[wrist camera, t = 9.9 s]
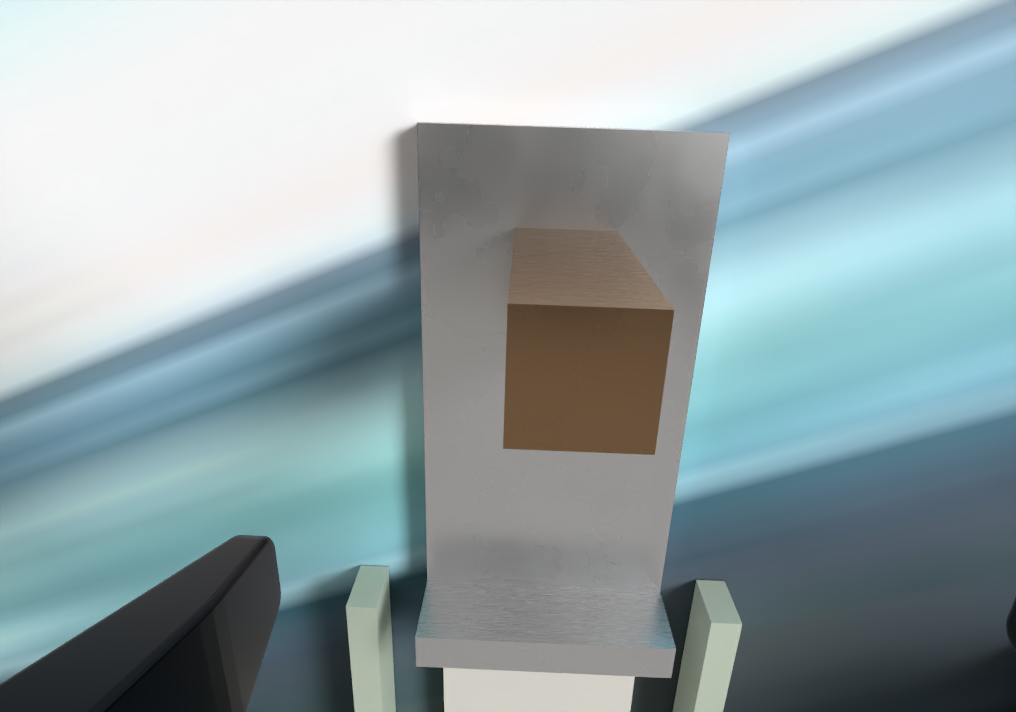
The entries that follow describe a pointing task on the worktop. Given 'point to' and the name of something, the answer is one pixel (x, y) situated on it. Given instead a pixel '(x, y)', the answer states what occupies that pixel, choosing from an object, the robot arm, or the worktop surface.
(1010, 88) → the worktop surface
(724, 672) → the corral
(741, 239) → the worktop surface
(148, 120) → the worktop surface
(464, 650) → the metal bookend
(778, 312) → the worktop surface
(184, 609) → the robot arm
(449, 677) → the tile
